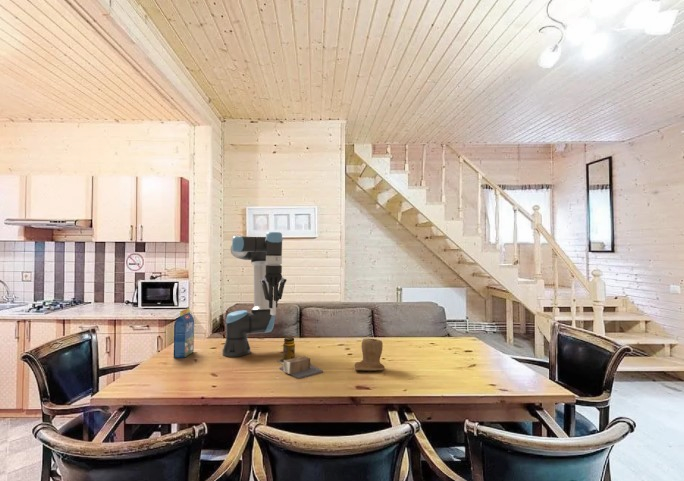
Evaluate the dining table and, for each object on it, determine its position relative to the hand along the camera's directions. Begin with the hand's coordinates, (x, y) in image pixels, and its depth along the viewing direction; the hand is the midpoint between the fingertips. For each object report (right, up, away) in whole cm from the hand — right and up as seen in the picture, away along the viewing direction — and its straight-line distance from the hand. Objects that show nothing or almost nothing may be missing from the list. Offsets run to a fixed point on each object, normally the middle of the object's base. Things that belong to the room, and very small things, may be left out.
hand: (273, 314), depth 168 cm
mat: (+13, -28, +5) cm, 31 cm away
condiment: (+4, -29, +20) cm, 35 cm away
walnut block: (+6, -25, 0) cm, 26 cm away
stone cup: (+46, -29, +8) cm, 55 cm away
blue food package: (-55, -29, +29) cm, 69 cm away
